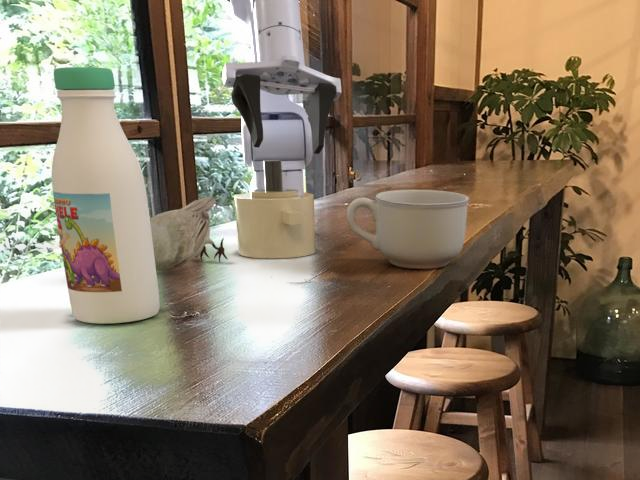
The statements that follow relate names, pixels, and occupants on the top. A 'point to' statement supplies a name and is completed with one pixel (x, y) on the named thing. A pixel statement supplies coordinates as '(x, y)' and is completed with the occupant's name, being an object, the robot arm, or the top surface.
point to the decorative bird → (182, 234)
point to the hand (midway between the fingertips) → (289, 146)
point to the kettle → (275, 219)
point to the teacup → (415, 226)
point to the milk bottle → (101, 205)
